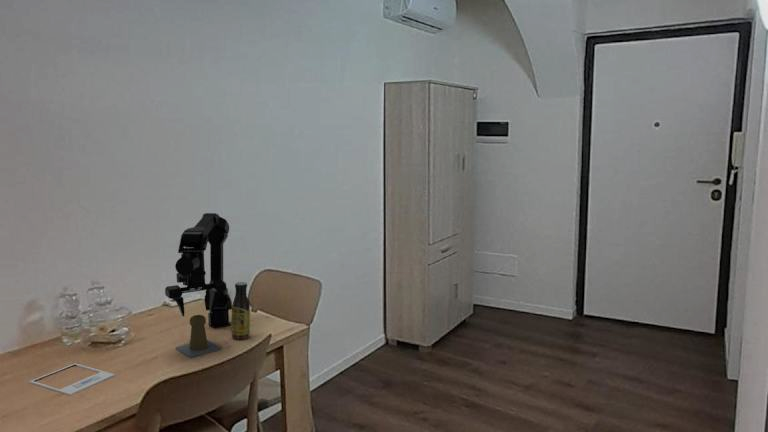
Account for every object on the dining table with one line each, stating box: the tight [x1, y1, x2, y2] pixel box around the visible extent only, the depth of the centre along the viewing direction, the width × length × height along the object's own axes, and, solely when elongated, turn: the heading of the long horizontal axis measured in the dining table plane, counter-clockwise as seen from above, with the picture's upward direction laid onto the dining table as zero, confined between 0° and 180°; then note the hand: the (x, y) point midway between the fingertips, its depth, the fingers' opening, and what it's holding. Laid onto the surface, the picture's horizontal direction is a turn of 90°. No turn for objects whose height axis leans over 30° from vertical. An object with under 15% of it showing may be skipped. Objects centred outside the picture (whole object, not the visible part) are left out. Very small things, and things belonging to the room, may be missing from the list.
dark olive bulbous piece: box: [189, 314, 208, 351], centre depth 194 cm, size 6×6×11 cm
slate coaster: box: [175, 339, 223, 359], centre depth 195 cm, size 11×11×1 cm
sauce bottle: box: [231, 281, 251, 340], centre depth 205 cm, size 7×6×20 cm
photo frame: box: [28, 363, 116, 396], centre depth 171 cm, size 15×1×18 cm
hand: (197, 313), depth 193 cm, fingers open, 9 cm apart
